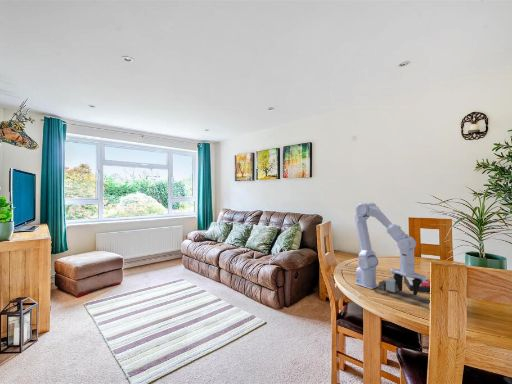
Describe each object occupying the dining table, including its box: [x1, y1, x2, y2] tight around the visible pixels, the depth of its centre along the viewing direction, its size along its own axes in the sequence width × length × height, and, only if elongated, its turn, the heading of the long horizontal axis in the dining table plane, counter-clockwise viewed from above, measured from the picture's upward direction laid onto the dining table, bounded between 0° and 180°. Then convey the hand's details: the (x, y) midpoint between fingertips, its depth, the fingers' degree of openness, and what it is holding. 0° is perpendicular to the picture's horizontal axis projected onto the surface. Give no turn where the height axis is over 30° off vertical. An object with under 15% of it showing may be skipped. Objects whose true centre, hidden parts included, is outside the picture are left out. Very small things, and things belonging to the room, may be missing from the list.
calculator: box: [403, 276, 431, 294], centre depth 127 cm, size 11×4×15 cm
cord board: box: [374, 280, 430, 310], centre depth 114 cm, size 25×10×4 cm, turn 37°
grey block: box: [385, 277, 399, 293], centre depth 119 cm, size 4×6×5 cm
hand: (407, 292), depth 113 cm, fingers open, 6 cm apart
